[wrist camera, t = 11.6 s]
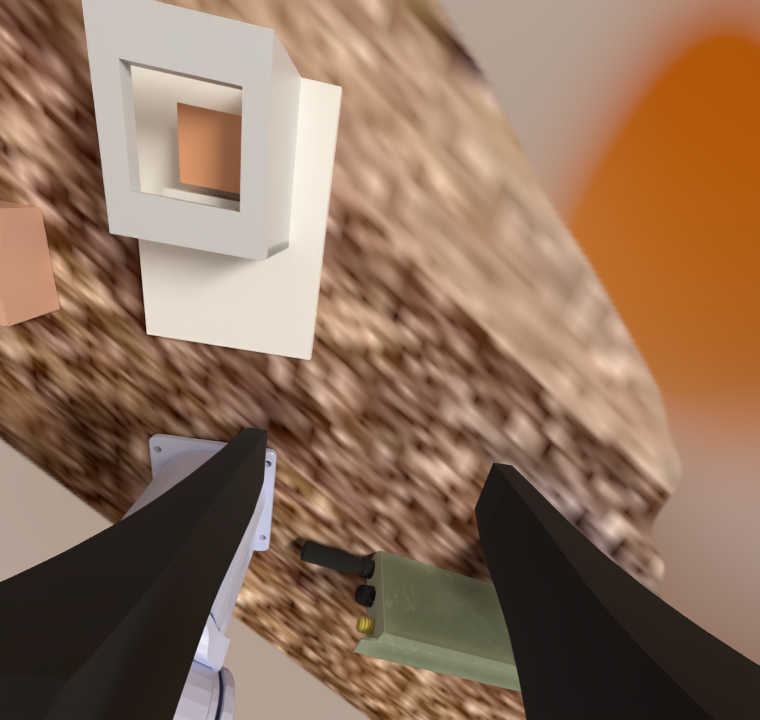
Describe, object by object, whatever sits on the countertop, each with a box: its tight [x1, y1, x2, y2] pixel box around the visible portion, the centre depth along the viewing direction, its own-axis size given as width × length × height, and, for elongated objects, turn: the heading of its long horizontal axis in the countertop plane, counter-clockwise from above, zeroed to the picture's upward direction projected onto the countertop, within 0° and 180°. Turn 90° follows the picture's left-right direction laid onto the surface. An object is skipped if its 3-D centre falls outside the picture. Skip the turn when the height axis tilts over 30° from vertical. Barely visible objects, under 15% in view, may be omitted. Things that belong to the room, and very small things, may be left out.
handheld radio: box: [301, 542, 521, 692], centre depth 27 cm, size 7×3×25 cm
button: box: [177, 102, 242, 194], centre depth 15 cm, size 3×3×2 cm
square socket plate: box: [82, 0, 342, 360], centre depth 15 cm, size 13×9×5 cm
